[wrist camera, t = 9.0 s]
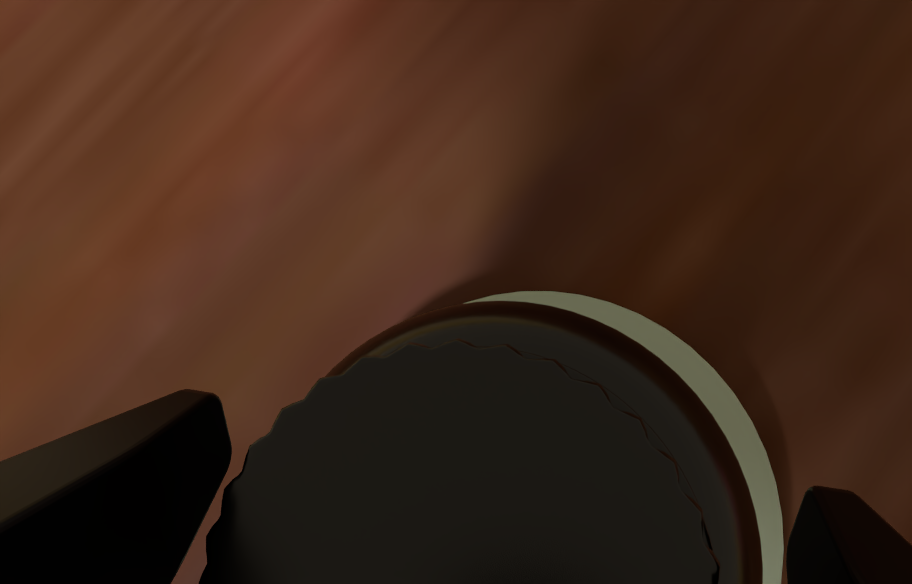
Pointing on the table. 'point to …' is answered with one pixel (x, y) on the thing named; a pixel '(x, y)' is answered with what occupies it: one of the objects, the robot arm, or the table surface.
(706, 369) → the green pad
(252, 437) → the table surface
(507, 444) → the supplement bottle
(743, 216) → the table surface
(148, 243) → the table surface
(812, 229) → the table surface
